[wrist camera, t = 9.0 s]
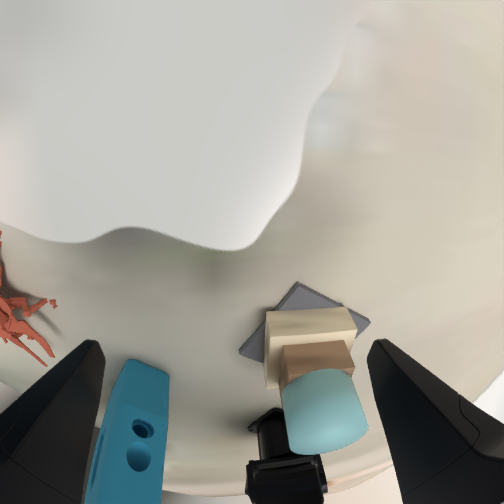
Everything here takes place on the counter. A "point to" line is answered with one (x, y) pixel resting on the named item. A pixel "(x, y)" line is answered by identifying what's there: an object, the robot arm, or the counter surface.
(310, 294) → the mat
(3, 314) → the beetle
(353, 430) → the light blue cylinder
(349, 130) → the counter surface
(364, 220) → the counter surface
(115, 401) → the block
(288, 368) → the tower block
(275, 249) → the counter surface
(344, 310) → the tower base
